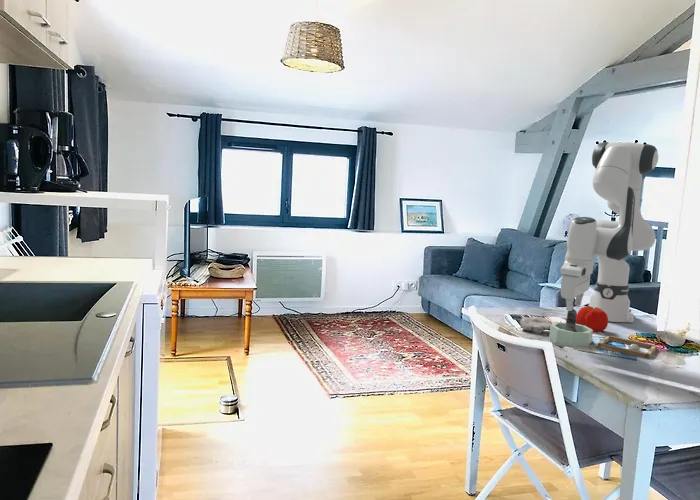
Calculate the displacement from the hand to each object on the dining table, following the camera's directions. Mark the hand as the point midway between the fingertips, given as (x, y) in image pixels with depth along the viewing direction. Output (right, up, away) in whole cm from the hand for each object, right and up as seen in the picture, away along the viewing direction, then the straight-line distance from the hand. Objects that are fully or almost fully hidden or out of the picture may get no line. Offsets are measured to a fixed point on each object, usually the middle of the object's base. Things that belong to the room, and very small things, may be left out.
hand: (573, 307), depth 187 cm
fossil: (-8, -10, +15) cm, 20 cm away
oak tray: (+15, -14, -5) cm, 21 cm away
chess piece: (-2, -12, 0) cm, 12 cm away
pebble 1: (+18, -13, -7) cm, 23 cm away
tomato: (+13, -11, +18) cm, 25 cm away
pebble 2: (+17, -14, -10) cm, 24 cm away
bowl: (-1, -12, +1) cm, 12 cm away
